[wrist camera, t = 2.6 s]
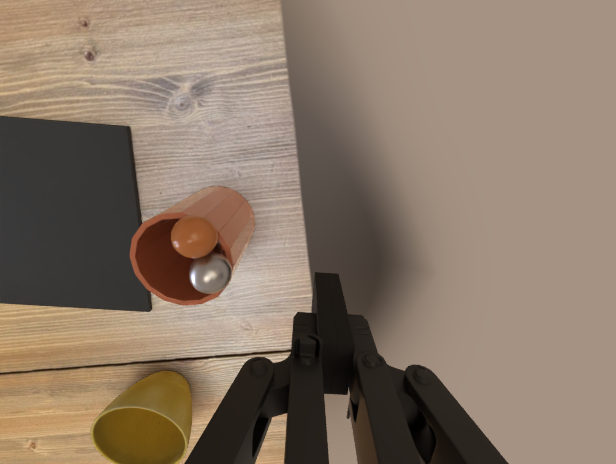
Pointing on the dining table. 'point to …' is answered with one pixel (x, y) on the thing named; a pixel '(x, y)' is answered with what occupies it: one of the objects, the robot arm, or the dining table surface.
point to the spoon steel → (211, 272)
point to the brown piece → (194, 236)
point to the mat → (68, 215)
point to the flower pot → (146, 422)
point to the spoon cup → (175, 267)
